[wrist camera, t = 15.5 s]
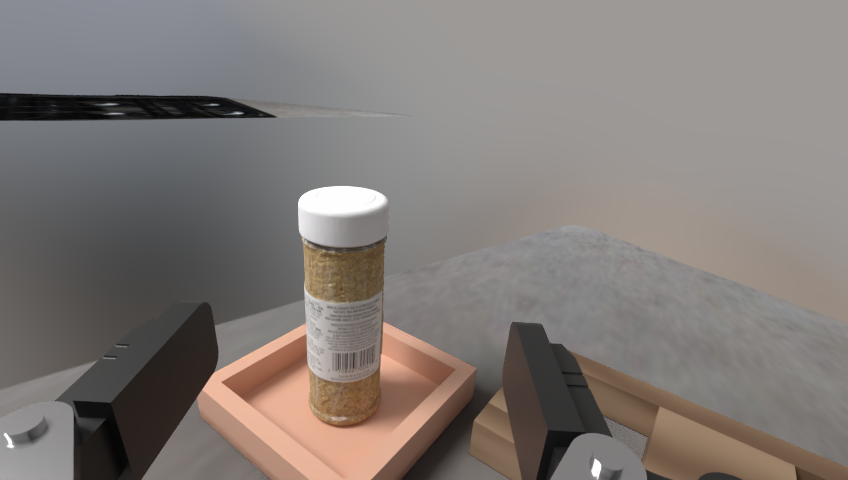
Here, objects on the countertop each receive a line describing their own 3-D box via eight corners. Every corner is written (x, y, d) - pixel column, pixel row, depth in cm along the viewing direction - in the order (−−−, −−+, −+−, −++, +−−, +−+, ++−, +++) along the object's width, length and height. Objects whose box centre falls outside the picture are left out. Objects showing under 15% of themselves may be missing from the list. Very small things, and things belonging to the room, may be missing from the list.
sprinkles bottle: (379, 375, 29) (387, 184, 24) (382, 428, 25) (392, 212, 20) (311, 377, 29) (303, 181, 23) (302, 431, 24) (290, 209, 19)
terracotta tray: (344, 328, 35) (344, 302, 34) (472, 398, 29) (477, 368, 28) (200, 416, 26) (194, 383, 25) (343, 545, 20) (343, 508, 19)
